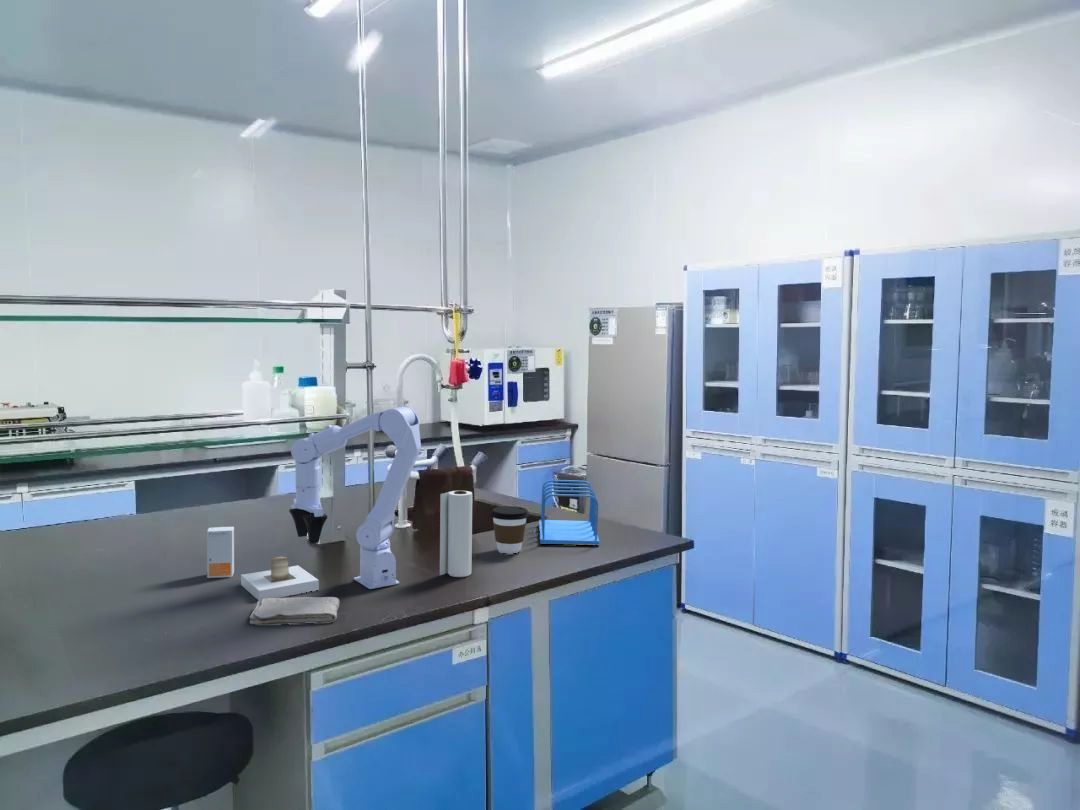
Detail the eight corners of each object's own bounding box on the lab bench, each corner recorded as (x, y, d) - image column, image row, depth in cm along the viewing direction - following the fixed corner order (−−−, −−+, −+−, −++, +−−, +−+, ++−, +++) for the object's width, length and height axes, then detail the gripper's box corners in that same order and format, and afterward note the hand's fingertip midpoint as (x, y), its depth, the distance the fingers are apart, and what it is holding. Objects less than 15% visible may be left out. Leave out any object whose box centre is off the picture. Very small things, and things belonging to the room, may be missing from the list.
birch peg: (291, 588, 190) (291, 559, 189) (275, 591, 187) (274, 562, 187) (284, 583, 193) (284, 555, 192) (268, 587, 190) (268, 558, 190)
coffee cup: (515, 544, 232) (516, 504, 231) (535, 553, 223) (536, 511, 222) (483, 549, 227) (483, 508, 225) (502, 558, 217) (502, 516, 216)
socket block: (318, 590, 189) (318, 580, 188) (259, 601, 180) (259, 590, 180) (298, 575, 200) (298, 565, 199) (241, 584, 191) (240, 574, 191)
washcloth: (257, 609, 177) (257, 595, 177) (340, 605, 180) (340, 592, 180) (247, 628, 165) (247, 614, 165) (336, 625, 168) (336, 610, 168)
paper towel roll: (474, 572, 205) (475, 490, 203) (466, 578, 199) (467, 495, 197) (448, 569, 207) (449, 488, 205) (439, 576, 201) (440, 493, 199)
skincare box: (206, 579, 195) (205, 531, 194) (209, 573, 199) (208, 527, 198) (233, 577, 197) (232, 530, 196) (234, 572, 201) (234, 526, 200)
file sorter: (599, 547, 232) (600, 495, 230) (540, 546, 231) (541, 494, 230) (592, 526, 257) (593, 479, 255) (538, 525, 256) (539, 478, 255)
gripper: (281, 482, 200) (282, 535, 202) (303, 492, 189) (303, 548, 190) (308, 480, 205) (308, 531, 206) (331, 489, 193) (331, 544, 195)
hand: (308, 539), depth 198 cm, fingers open, 7 cm apart
